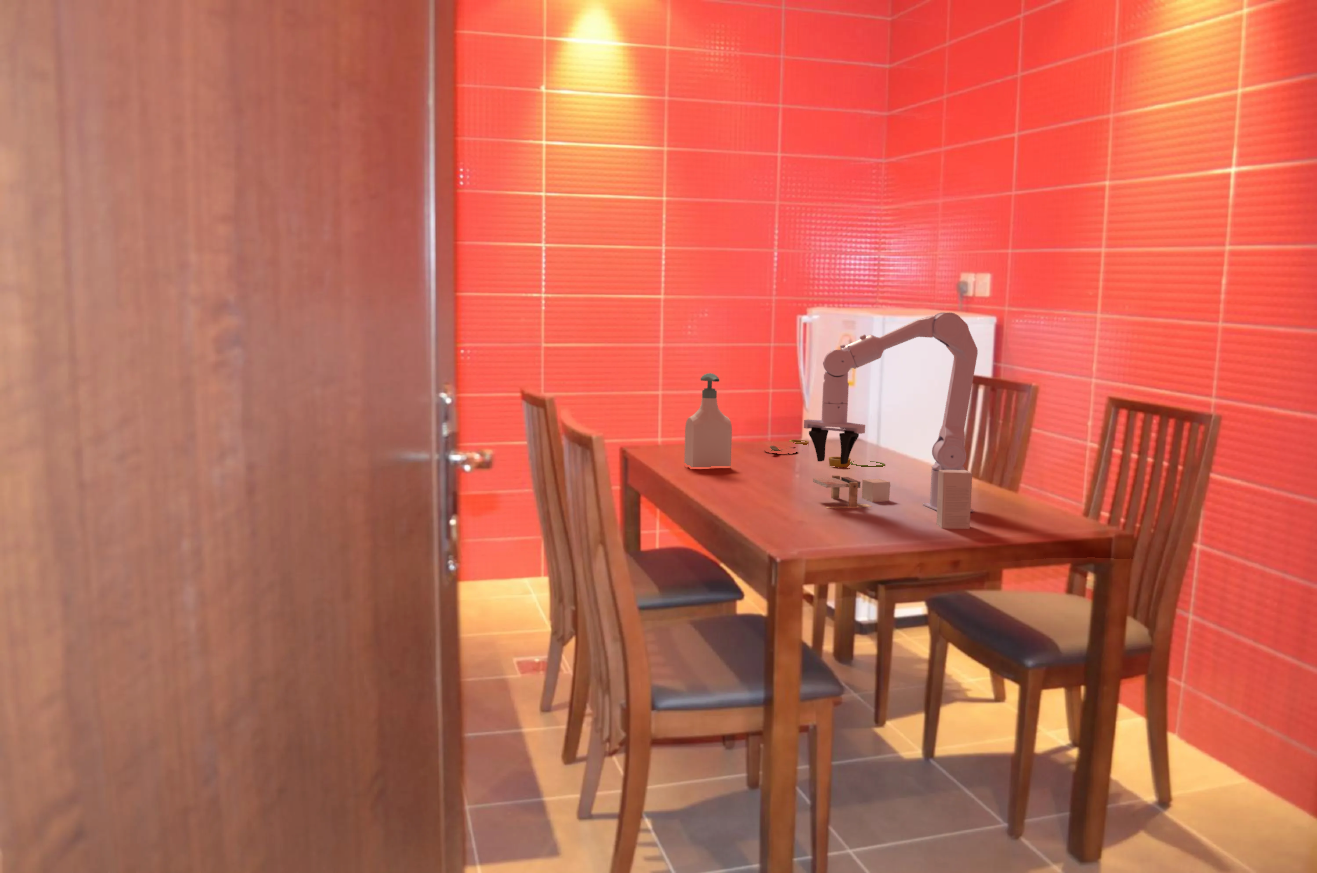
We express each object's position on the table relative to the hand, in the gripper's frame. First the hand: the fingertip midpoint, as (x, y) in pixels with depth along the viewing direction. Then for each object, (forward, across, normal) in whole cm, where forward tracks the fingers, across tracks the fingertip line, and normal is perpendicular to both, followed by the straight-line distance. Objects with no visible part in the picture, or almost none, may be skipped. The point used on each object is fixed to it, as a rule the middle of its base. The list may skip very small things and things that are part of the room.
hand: (832, 462), depth 241 cm
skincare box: (+10, -30, +4) cm, 32 cm away
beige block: (+10, -6, -10) cm, 16 cm away
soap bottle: (+10, +46, -19) cm, 51 cm away
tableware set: (+11, +34, -56) cm, 66 cm away
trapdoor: (+5, -2, -2) cm, 6 cm away
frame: (+10, -2, -2) cm, 11 cm away
